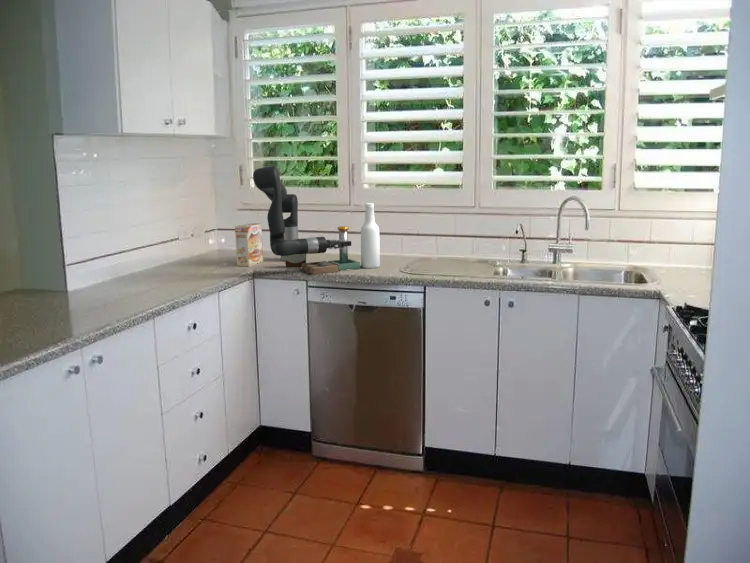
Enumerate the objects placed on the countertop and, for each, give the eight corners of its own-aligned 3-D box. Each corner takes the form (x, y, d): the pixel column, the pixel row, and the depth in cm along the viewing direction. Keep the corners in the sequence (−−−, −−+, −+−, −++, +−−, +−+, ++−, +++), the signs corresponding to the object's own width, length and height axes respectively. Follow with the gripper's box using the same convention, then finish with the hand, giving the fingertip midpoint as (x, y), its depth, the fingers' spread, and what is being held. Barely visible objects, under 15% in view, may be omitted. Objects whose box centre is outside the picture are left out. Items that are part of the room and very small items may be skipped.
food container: (310, 265, 324) (310, 245, 322) (308, 267, 318) (307, 247, 316) (285, 265, 325) (284, 245, 324) (282, 267, 319) (281, 247, 318)
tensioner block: (301, 269, 313) (301, 260, 313) (325, 267, 319) (325, 258, 318) (313, 274, 300) (313, 265, 300) (338, 272, 306) (337, 263, 305)
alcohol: (361, 268, 314) (360, 204, 308) (361, 265, 323) (360, 202, 317) (380, 268, 314) (379, 203, 308) (379, 265, 323) (378, 202, 317)
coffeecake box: (249, 266, 324) (247, 226, 320) (236, 266, 326) (234, 226, 322) (264, 261, 338) (262, 223, 334) (251, 261, 340) (249, 222, 336)
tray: (328, 267, 319) (328, 260, 319) (349, 265, 324) (349, 258, 324) (338, 270, 309) (338, 264, 308) (360, 268, 314) (359, 262, 313)
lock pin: (336, 263, 317) (335, 226, 314) (346, 262, 319) (345, 226, 316) (340, 264, 313) (340, 227, 309) (351, 263, 315) (350, 227, 312)
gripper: (320, 238, 301) (355, 236, 309) (309, 235, 313) (342, 233, 321) (320, 255, 302) (355, 252, 310) (309, 251, 315) (342, 249, 322)
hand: (348, 242), depth 315 cm, fingers closed on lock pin, 4 cm apart
